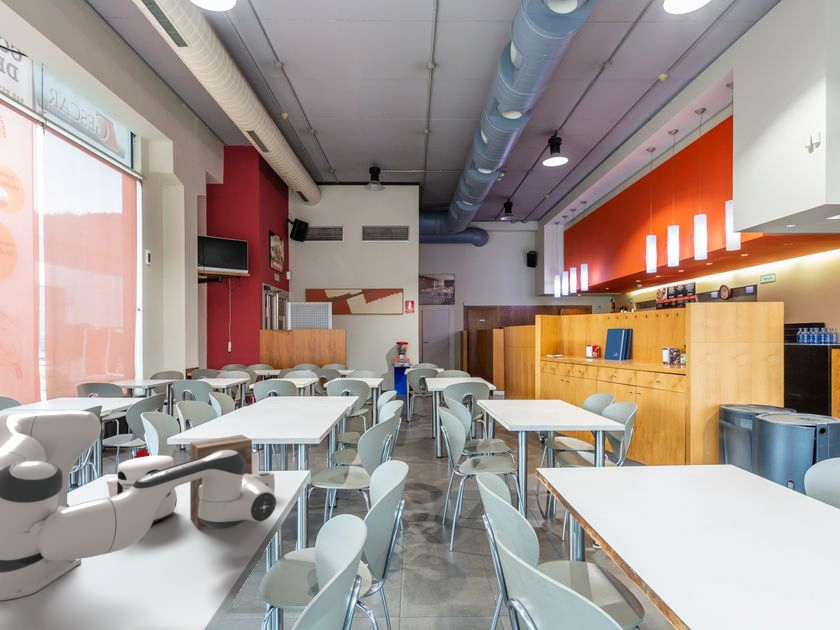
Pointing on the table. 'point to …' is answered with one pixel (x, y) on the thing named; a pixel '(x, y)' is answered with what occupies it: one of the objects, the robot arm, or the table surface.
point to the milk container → (142, 467)
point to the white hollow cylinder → (255, 461)
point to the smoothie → (112, 486)
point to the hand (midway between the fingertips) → (229, 479)
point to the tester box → (211, 446)
